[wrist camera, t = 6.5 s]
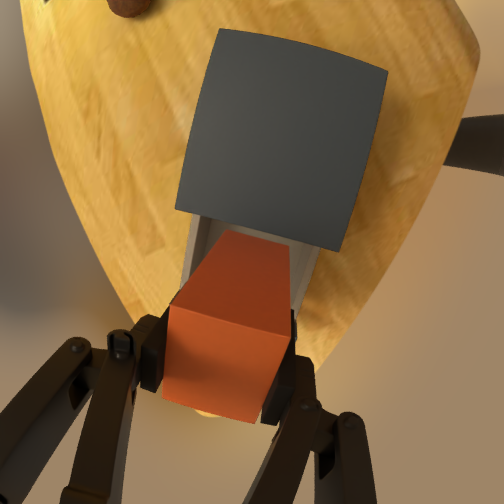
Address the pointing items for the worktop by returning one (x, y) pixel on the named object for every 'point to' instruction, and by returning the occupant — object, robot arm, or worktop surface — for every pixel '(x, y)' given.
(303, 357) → the robot arm
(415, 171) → the worktop surface
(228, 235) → the box
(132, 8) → the potato
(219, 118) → the cabinet
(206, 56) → the worktop surface
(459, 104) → the worktop surface
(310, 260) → the drawer
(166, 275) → the worktop surface
